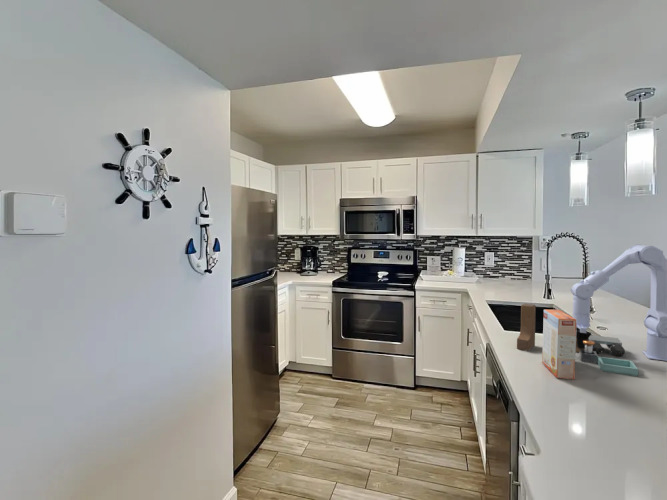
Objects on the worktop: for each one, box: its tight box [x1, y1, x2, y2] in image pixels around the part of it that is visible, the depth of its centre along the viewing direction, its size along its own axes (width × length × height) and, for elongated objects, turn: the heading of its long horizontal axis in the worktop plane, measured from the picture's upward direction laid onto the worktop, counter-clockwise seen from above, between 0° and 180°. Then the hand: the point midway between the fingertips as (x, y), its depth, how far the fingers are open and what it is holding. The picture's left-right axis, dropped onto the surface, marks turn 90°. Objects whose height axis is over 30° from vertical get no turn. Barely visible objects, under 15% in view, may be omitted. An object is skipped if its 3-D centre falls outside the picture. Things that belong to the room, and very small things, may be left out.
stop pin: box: [583, 340, 595, 354], centre depth 134 cm, size 4×4×7 cm
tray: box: [597, 356, 639, 377], centre depth 125 cm, size 10×8×2 cm
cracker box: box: [541, 309, 577, 380], centre depth 124 cm, size 14×6×21 cm, turn 167°
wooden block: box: [516, 303, 536, 352], centre depth 148 cm, size 9×4×18 cm, turn 134°
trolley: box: [588, 334, 626, 358], centre depth 142 cm, size 11×11×5 cm
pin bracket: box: [578, 349, 599, 364], centre depth 134 cm, size 5×5×3 cm
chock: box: [575, 338, 585, 354], centre depth 143 cm, size 5×4×5 cm
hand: (580, 345), depth 143 cm, fingers open, 6 cm apart
